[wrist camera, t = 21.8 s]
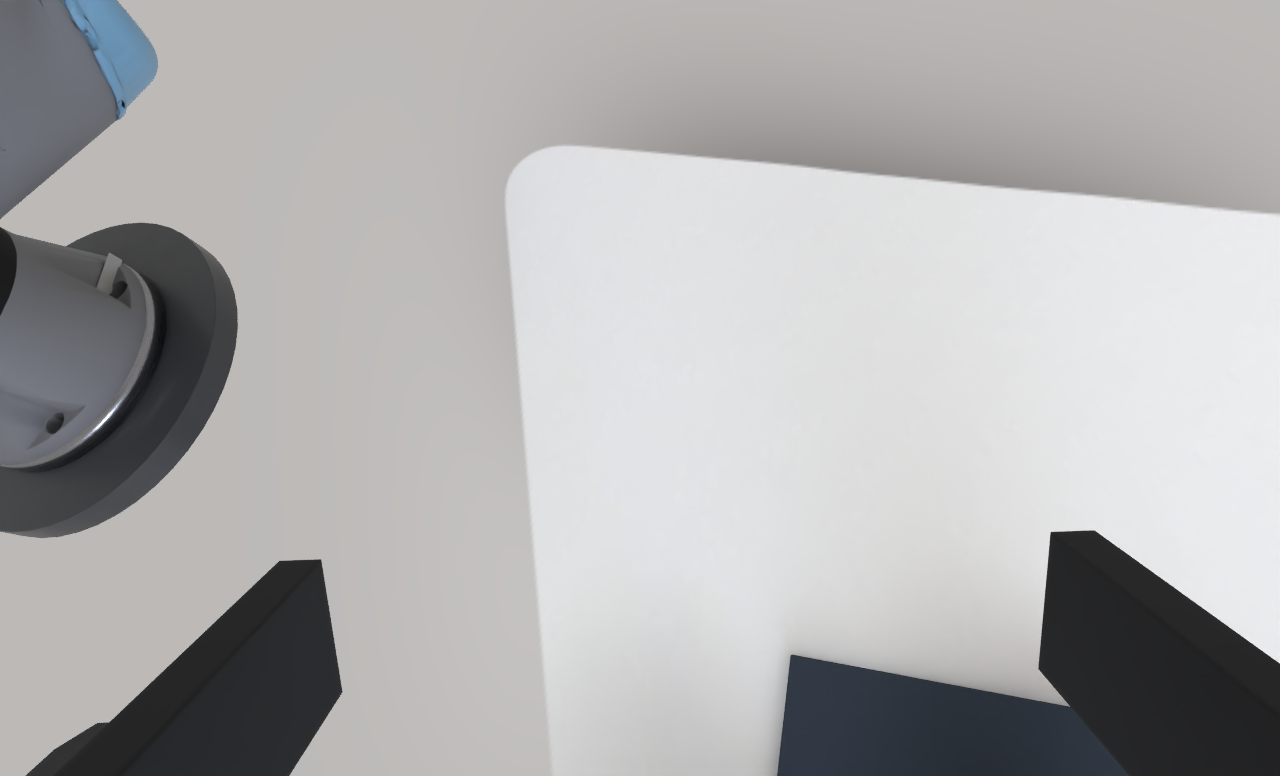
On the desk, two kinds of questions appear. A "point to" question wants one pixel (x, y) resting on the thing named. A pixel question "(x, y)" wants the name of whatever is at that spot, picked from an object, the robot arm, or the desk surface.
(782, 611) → the desk surface
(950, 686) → the mat
